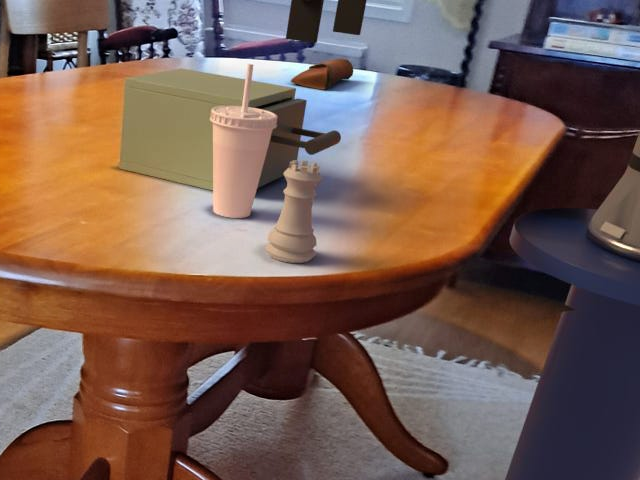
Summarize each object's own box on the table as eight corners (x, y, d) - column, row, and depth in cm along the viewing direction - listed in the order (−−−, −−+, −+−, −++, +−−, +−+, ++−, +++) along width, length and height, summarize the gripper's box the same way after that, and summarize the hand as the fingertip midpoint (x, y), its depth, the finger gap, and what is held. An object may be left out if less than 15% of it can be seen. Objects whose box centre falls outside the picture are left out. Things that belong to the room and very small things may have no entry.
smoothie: (196, 217, 81) (213, 64, 74) (202, 199, 86) (218, 55, 80) (262, 225, 80) (285, 72, 74) (264, 207, 86) (285, 63, 79)
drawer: (339, 179, 95) (353, 108, 91) (302, 200, 86) (315, 121, 82) (192, 148, 103) (199, 80, 99) (144, 164, 94) (149, 90, 90)
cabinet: (282, 174, 99) (296, 88, 94) (236, 196, 89) (249, 100, 84) (173, 150, 105) (181, 68, 100) (119, 168, 95) (124, 77, 90)
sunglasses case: (312, 72, 177) (333, 45, 173) (337, 94, 176) (359, 68, 172) (288, 81, 162) (310, 52, 158) (315, 105, 162) (338, 77, 158)
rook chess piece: (297, 245, 76) (312, 156, 72) (325, 262, 72) (342, 170, 69) (254, 248, 74) (268, 157, 70) (281, 266, 71) (296, 172, 67)
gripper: (369, -209, 82) (328, 26, 92) (276, -269, 62) (237, 38, 72) (446, -207, 79) (396, 35, 89) (375, -270, 59) (320, 51, 69)
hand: (325, 37), depth 80 cm, fingers open, 13 cm apart
